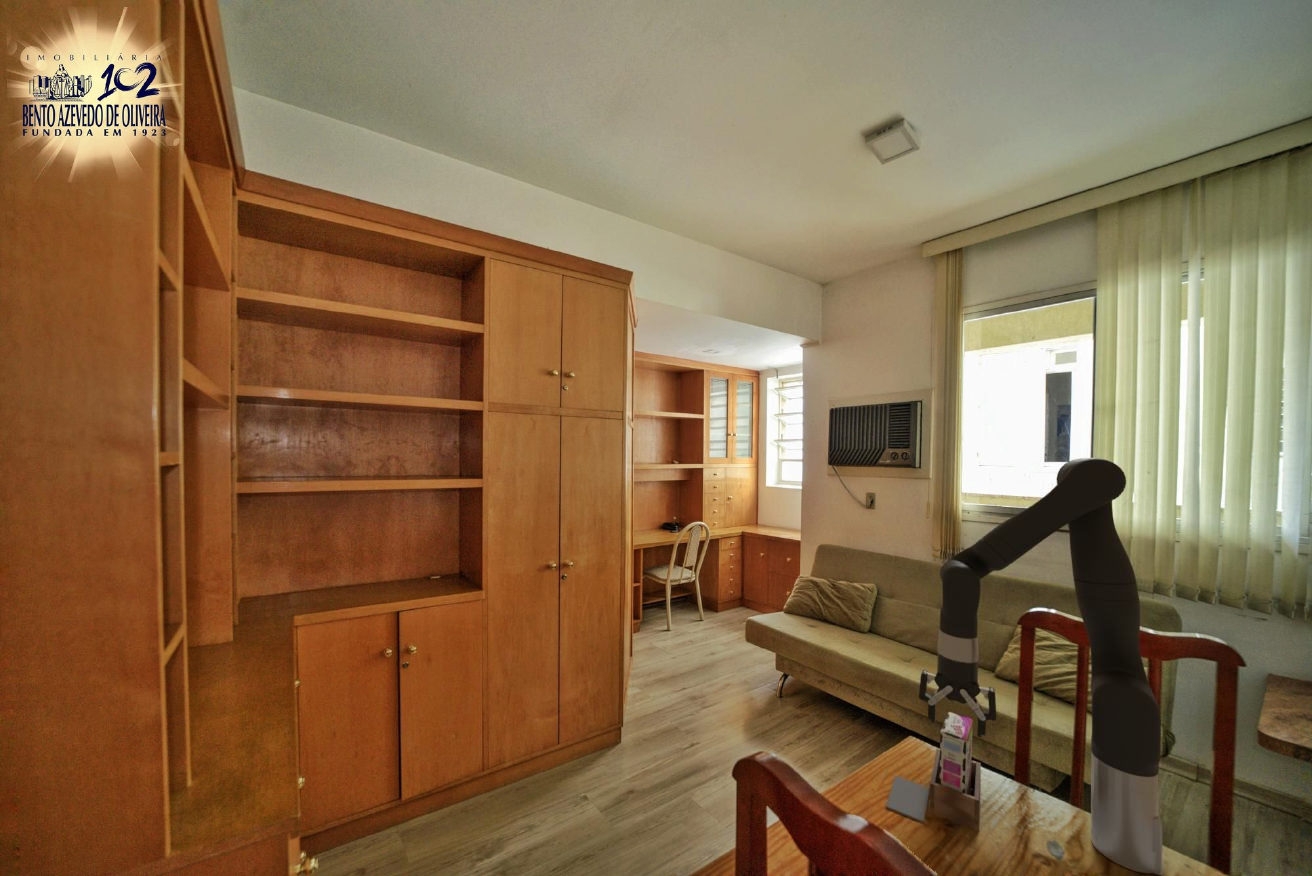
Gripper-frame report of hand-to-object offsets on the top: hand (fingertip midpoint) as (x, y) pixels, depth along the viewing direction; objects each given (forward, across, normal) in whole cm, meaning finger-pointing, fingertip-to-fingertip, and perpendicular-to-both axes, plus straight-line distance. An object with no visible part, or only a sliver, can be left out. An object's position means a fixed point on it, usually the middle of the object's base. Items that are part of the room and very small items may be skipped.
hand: (955, 728), depth 105 cm
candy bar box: (+16, 0, 0) cm, 16 cm away
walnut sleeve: (+15, 0, 0) cm, 16 cm away
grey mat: (+16, +8, +6) cm, 18 cm away
